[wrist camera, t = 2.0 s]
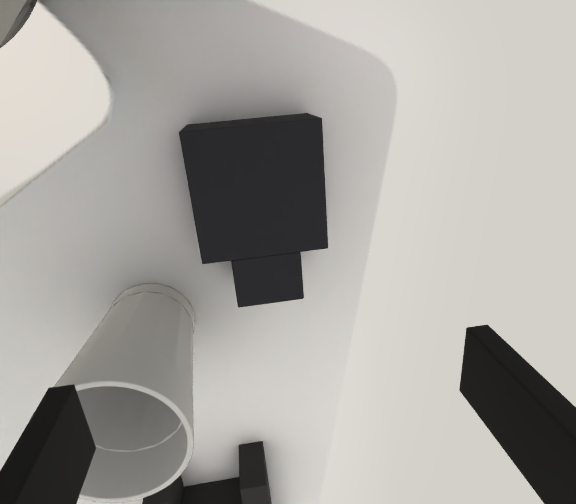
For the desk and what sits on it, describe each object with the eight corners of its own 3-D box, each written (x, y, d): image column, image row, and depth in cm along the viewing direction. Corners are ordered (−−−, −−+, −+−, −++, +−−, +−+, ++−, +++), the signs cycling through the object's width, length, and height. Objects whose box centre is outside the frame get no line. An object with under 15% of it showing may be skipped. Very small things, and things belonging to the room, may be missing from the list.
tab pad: (186, 124, 27) (178, 131, 23) (307, 113, 27) (321, 117, 23) (213, 281, 31) (210, 311, 27) (317, 268, 32) (330, 295, 28)
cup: (124, 255, 29) (60, 357, 18) (223, 300, 32) (221, 414, 21) (80, 340, 31) (0, 478, 20) (177, 377, 34) (153, 518, 23)
